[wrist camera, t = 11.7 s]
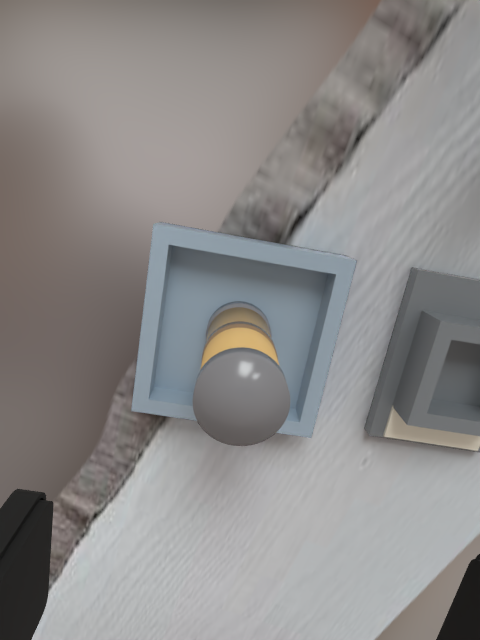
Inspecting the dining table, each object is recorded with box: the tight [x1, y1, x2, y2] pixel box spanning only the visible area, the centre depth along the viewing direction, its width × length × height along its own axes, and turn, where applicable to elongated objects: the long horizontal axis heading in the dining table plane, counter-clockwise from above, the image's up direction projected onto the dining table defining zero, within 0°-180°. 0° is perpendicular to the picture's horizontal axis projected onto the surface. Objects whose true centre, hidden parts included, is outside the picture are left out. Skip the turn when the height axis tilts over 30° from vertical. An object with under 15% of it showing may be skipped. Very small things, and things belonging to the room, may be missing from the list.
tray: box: [131, 222, 357, 438], centre depth 26 cm, size 12×12×2 cm
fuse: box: [193, 301, 290, 446], centre depth 22 cm, size 4×4×10 cm
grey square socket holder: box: [365, 268, 480, 452], centre depth 27 cm, size 12×9×4 cm
